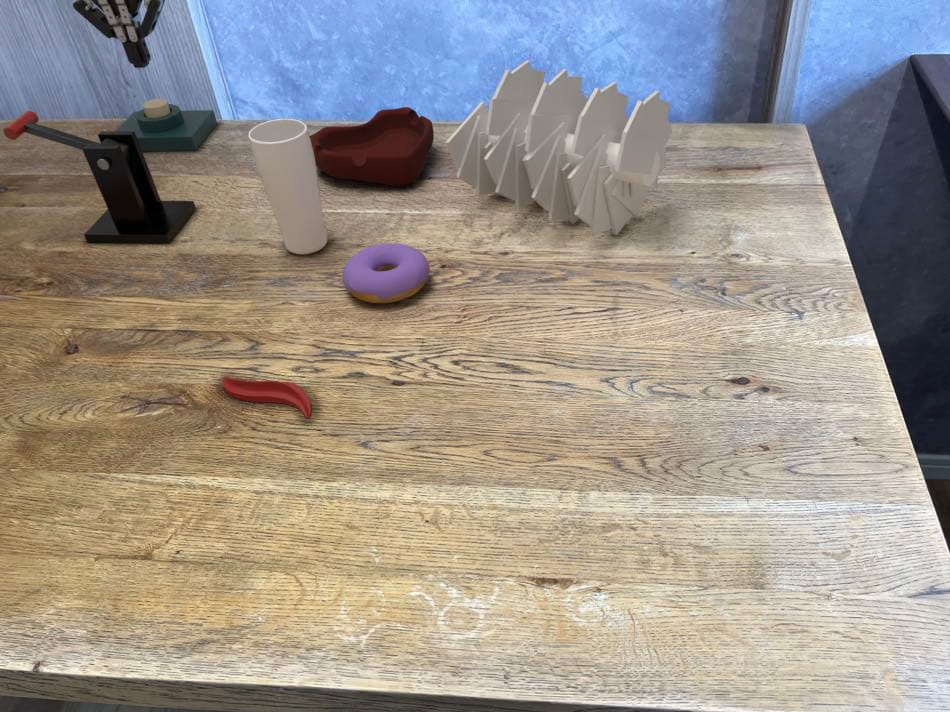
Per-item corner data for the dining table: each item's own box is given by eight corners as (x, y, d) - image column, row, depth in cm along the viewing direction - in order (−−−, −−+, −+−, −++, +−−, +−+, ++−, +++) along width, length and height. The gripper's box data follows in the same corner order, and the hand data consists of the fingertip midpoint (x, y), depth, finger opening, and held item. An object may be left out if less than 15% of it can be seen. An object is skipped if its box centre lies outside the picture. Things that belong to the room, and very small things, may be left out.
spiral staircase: (512, 202, 117) (667, 242, 106) (432, 199, 103) (601, 245, 91) (535, 67, 111) (701, 93, 100) (452, 44, 97) (636, 72, 85)
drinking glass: (336, 254, 101) (309, 138, 91) (280, 263, 100) (247, 147, 90) (332, 227, 106) (306, 114, 96) (279, 236, 105) (246, 122, 95)
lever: (4, 140, 98) (1, 122, 97) (26, 123, 102) (24, 105, 100) (117, 175, 100) (116, 157, 99) (134, 156, 104) (134, 139, 102)
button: (142, 119, 125) (138, 108, 124) (151, 110, 127) (147, 99, 126) (165, 119, 125) (161, 107, 123) (174, 109, 127) (170, 98, 126)
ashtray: (355, 210, 109) (348, 175, 106) (304, 167, 119) (295, 134, 116) (467, 170, 117) (464, 136, 113) (410, 133, 126) (405, 101, 123)
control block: (113, 151, 125) (102, 126, 122) (139, 124, 132) (130, 100, 130) (196, 150, 124) (187, 125, 122) (217, 123, 132) (209, 98, 129)
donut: (420, 252, 100) (417, 222, 96) (439, 306, 95) (437, 276, 91) (339, 269, 98) (332, 238, 94) (353, 324, 92) (347, 294, 89)
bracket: (87, 242, 105) (47, 156, 97) (118, 208, 112) (83, 124, 104) (169, 243, 104) (135, 156, 96) (196, 208, 111) (166, 124, 103)
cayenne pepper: (326, 406, 80) (322, 391, 79) (289, 432, 77) (284, 418, 76) (250, 361, 86) (245, 346, 84) (213, 384, 83) (207, 370, 82)
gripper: (153, -75, 112) (194, 55, 123) (60, -71, 113) (109, 58, 124) (130, -61, 106) (176, 74, 118) (33, -57, 107) (87, 76, 119)
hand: (142, 65), depth 121 cm, fingers closed
